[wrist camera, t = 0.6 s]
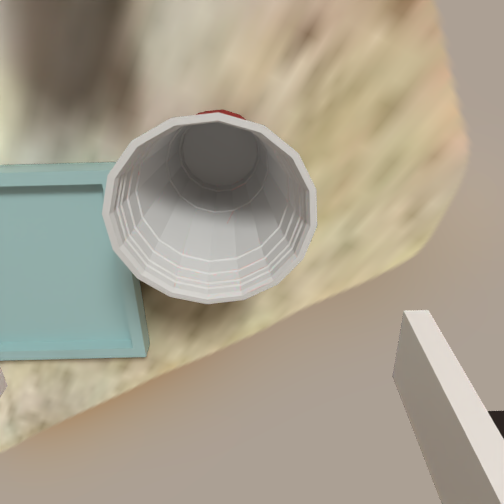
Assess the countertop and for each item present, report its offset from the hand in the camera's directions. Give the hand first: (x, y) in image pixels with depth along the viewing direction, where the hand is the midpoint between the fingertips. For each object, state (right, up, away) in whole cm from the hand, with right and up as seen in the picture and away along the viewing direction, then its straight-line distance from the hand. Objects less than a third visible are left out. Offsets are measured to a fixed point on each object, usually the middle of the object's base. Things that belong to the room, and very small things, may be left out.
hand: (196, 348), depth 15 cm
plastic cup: (0, +10, +19) cm, 22 cm away
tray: (-16, +2, +23) cm, 28 cm away
